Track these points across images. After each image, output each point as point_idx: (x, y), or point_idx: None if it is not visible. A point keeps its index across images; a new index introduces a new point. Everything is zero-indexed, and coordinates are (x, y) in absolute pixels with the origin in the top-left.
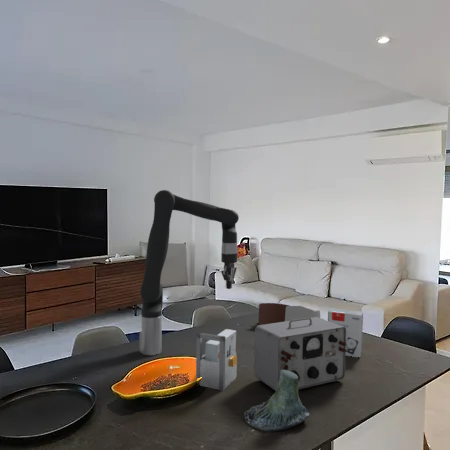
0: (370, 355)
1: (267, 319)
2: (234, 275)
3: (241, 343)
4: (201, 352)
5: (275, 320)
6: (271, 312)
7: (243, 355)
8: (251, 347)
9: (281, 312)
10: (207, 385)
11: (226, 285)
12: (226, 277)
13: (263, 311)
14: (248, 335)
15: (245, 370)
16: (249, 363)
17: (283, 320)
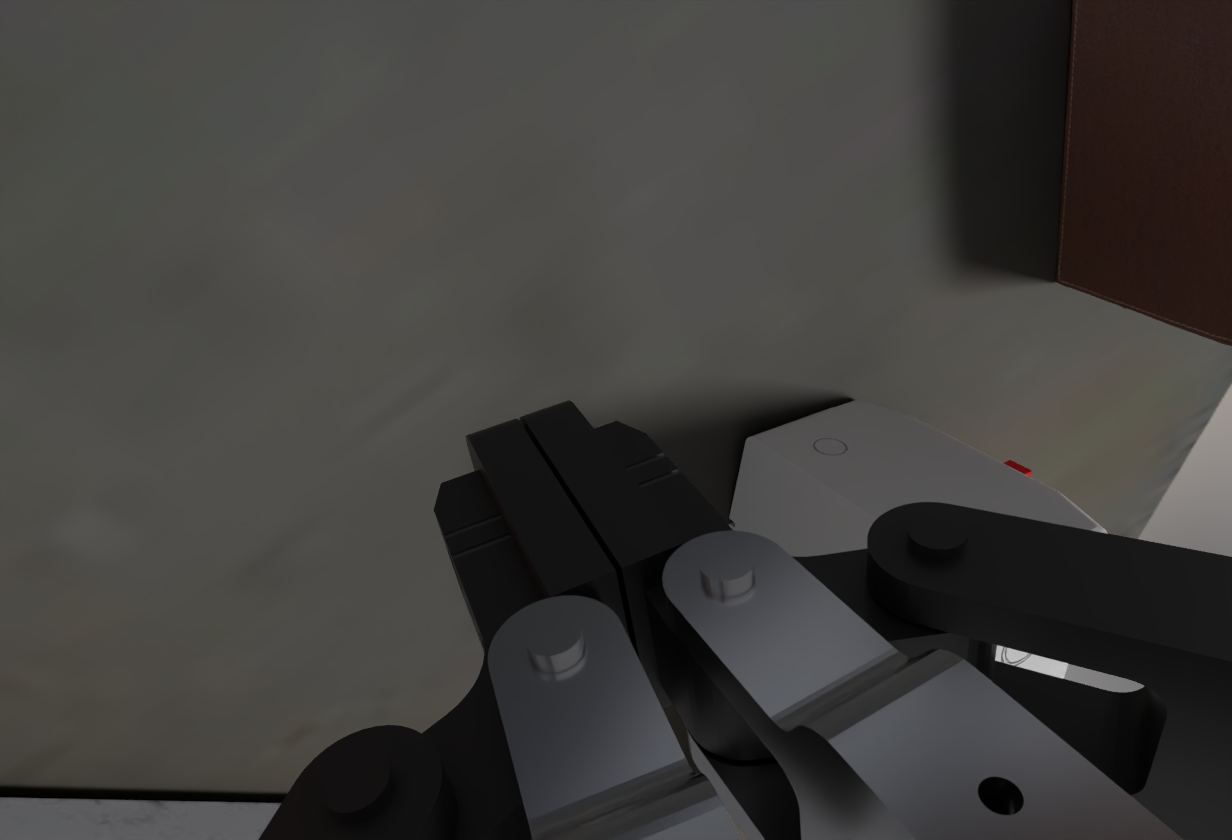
0: None
1: (1137, 70)
2: (1061, 728)
3: (559, 144)
4: None
5: (1127, 151)
6: (1206, 121)
7: (293, 371)
8: (523, 290)
9: (1200, 224)
10: None
11: (495, 487)
12: (557, 800)
13: (1222, 28)
14: (800, 51)
15: (8, 607)
16: (173, 526)
17: (1127, 225)
